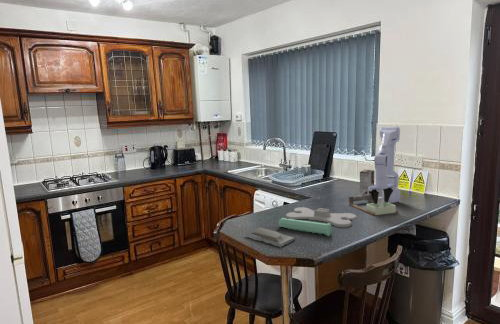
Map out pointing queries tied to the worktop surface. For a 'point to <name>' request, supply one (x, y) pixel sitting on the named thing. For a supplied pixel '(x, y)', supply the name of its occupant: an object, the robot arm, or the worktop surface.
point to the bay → (360, 198)
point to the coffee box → (366, 181)
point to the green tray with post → (381, 207)
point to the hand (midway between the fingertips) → (380, 202)
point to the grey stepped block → (272, 236)
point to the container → (306, 226)
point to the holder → (322, 216)
